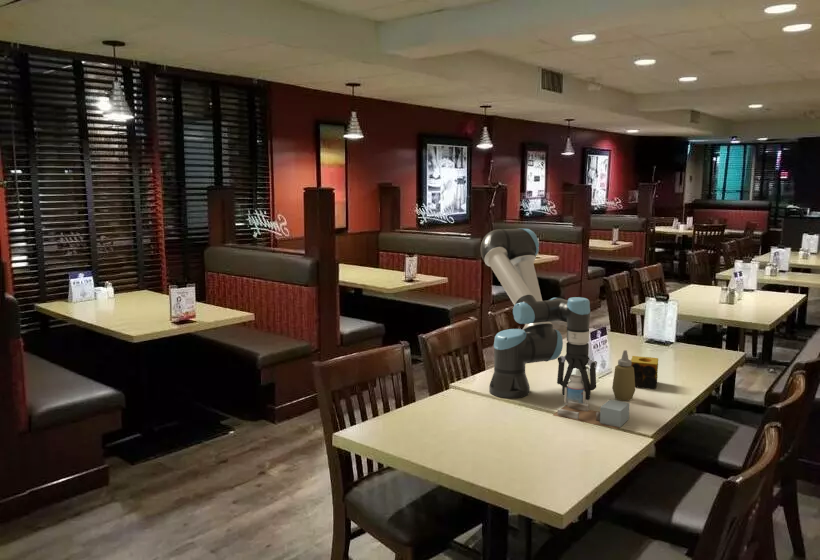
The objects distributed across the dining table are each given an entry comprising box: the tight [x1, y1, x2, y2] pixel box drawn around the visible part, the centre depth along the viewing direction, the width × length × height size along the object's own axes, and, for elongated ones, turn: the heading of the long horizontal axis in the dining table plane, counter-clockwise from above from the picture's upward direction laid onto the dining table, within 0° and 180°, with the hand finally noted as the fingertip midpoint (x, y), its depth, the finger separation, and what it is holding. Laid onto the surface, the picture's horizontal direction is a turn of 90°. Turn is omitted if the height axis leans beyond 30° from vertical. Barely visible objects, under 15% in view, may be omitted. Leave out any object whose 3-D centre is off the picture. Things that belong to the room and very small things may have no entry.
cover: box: [599, 399, 630, 428], centre depth 211 cm, size 6×9×5 cm
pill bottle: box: [566, 374, 585, 404], centre depth 228 cm, size 6×6×11 cm
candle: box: [630, 355, 659, 390], centre depth 253 cm, size 10×10×10 cm
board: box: [552, 401, 620, 430], centre depth 216 cm, size 22×12×4 cm, turn 54°
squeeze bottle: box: [611, 349, 636, 402], centre depth 236 cm, size 8×8×18 cm
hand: (575, 406), depth 229 cm, fingers closed on pill bottle, 6 cm apart
